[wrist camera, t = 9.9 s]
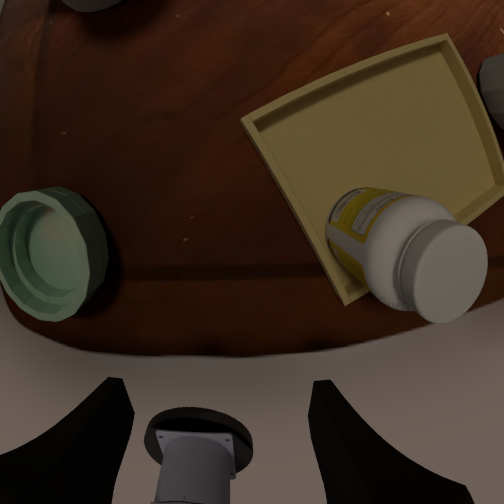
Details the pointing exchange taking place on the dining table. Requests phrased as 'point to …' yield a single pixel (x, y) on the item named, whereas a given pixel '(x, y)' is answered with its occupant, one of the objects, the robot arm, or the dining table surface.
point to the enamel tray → (381, 141)
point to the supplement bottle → (408, 251)
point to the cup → (90, 4)
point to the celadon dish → (51, 252)
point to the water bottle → (493, 87)
